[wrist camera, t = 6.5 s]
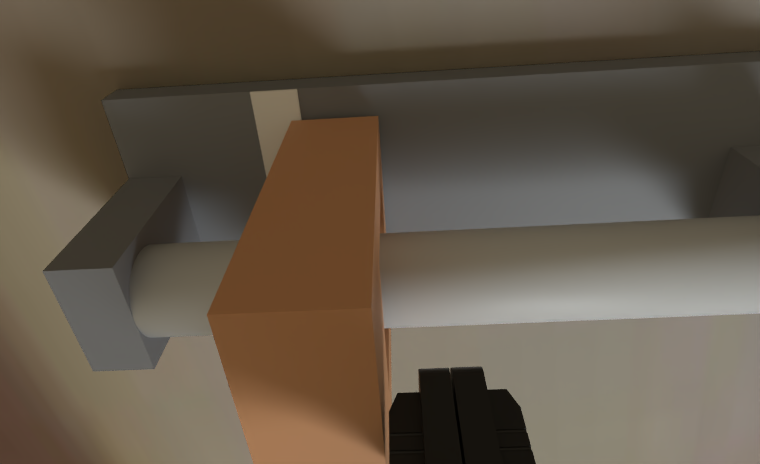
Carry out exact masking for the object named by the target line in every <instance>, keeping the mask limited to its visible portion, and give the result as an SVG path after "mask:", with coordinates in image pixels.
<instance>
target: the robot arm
mask: <svg viewBox="0 0 760 464" xmlns="http://www.w3.org/2000/svg"><path fill="white" fill-rule="evenodd" d="M389 464H536V463H535V459H534V456H533V452H532V451H531V445H530V441H529V437H528V433H527V432H526V426H525V422H524V419H523V415H522V411H521V407H520V406H519V405H518V403H517V402H516V401H515V400H514V398H513V397H512V396H511V394H510V393H509V392H508V391H507V389H497V390H487V386H486V381H485V377H484V372H483V369H482V367H455V368H451V369H450V371H449V368H432V369H419V392H414V393H397V395H396V398H395V400H394V402H393V404H392V406H391V408H390V410H389Z"/></svg>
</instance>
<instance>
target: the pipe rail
mask: <svg viewBox="0 0 760 464" xmlns="http://www.w3.org/2000/svg"><path fill="white" fill-rule="evenodd" d="M101 101H102V104H103V107H104V110H105V113H106V115H107V118H108V121H109V124H110V127H111V130H112V132H113V135H114V138H115V141H116V144H117V146H118V149H119V152H120V155H121V158H122V161H123V163H124V166H125V169H126V172H127V175H128V177H129V179H128V180H127V181H126V183H125V184H124V185H123V186H122V187H121V188H120V189H119V190H118V191H117V192H116V193H115V194H114V195H113V196H112V198H111V199H110V200H109V201H108V202H107V203H106V204H105V205H104V206H103V207H102V208H101V209H100V210H99V211H98V213H97V214H96V215H95V216H94V217H93V218H92V219H91V220H90V221H89V222H88V223H87V224H86V225H85V226H84V227H83V229H82V230H81V231H80V232H79V233H78V234H77V235H76V236H75V237H74V238H73V239H72V240H71V241H70V242H69V244H68V245H67V246H66V247H65V248H64V249H63V250H62V251H61V252H60V253H59V254H58V255H57V256H56V257H55V259H54V260H53V261H52V262H51V263H50V264H49V265H48V266H47V267H46V268H45V269H44V270H43V273H44V275H45V277H46V279H47V281H48V283H49V285H50V287H51V289H52V291H53V293H54V295H55V297H56V299H57V301H58V303H59V305H60V307H61V309H62V311H63V312H64V314H65V316H66V318H67V320H68V322H69V324H70V326H71V328H72V330H73V332H74V334H75V336H76V338H77V340H78V342H79V344H80V346H81V348H82V350H83V352H84V354H85V356H86V358H87V360H88V362H89V364H90V366H91V368H92V370H93V371H114V370H141V369H155V367H156V365H157V363H158V361H159V358H160V356H161V354H162V352H163V350H164V348H165V346H166V344H167V342H168V340H169V338H170V337H181V336H206V335H213V333H212V330H211V327H210V324H209V321H208V317H207V313H208V311H209V309H210V306H211V304H212V302H213V299H214V297H215V295H216V292H217V290H218V288H219V286H220V283H221V281H222V279H223V276H224V274H225V272H226V270H227V267H228V265H229V263H230V260H231V258H232V256H233V253H234V251H235V249H236V247H237V244H238V242H239V240H240V237H241V235H242V233H243V231H244V228H245V226H246V224H247V221H248V219H249V217H250V215H251V212H252V210H253V208H254V205H255V203H256V201H257V198H258V196H259V194H260V192H261V189H262V187H263V185H264V182H265V180H266V178H267V176H268V173H269V171H270V169H271V166H272V164H273V162H274V159H275V157H276V155H277V153H278V150H279V148H280V146H281V143H282V141H283V139H284V137H285V134H286V132H287V130H288V127H289V125H290V123H291V121H296V120H314V119H331V118H349V117H367V116H378V119H379V134H380V149H381V164H382V179H383V194H384V209H385V224H386V233H380V246H379V267H380V280H381V293H382V306H383V319H384V328H407V327H432V326H458V325H483V324H508V323H533V322H558V321H583V320H608V319H633V318H658V317H684V316H709V315H734V314H759V313H760V51H756V52H739V53H722V54H706V55H689V56H672V57H656V58H639V59H623V60H606V61H589V62H573V63H556V64H539V65H523V66H506V67H490V68H473V69H456V70H440V71H423V72H406V73H390V74H373V75H357V76H340V77H323V78H307V79H290V80H273V81H257V82H240V83H223V84H207V85H190V86H174V87H157V88H140V89H124V90H116V91H114V92H113V93H111V94H110V95H108V96H107V97H106V98H104V99H103V100H101Z"/></svg>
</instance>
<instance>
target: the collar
mask: <svg viewBox="0 0 760 464" xmlns="http://www.w3.org/2000/svg"><path fill="white" fill-rule="evenodd" d="M380 233H386V224H385V209H384V194H383V179H382V164H381V149H380V134H379V119H378V116H367V117H349V118H331V119H314V120H296V121H291V123H290V125H289V127H288V130H287V132H286V134H285V137H284V139H283V141H282V143H281V146H280V148H279V150H278V153H277V155H276V157H275V159H274V162H273V164H272V166H271V169H270V171H269V173H268V176H267V178H266V180H265V182H264V185H263V187H262V189H261V192H260V194H259V196H258V198H257V201H256V203H255V205H254V208H253V210H252V212H251V215H250V217H249V219H248V221H247V224H246V226H245V228H244V231H243V233H242V235H241V237H240V240H239V242H238V244H237V247H236V249H235V251H234V253H233V256H232V258H231V260H230V263H229V265H228V267H227V270H226V272H225V274H224V276H223V279H222V281H221V283H220V286H219V288H218V290H217V292H216V295H215V297H214V299H213V302H212V304H211V306H210V309H209V311H208V313H207V317H208V321H209V324H210V327H211V330H212V333H213V336H214V340H215V343H216V346H217V349H218V352H219V355H220V359H221V362H222V365H223V368H224V371H225V374H226V378H227V381H228V384H229V387H230V390H231V393H232V397H233V400H234V403H235V406H236V409H237V412H238V416H239V419H240V422H241V425H242V428H243V431H244V435H245V438H246V441H247V444H248V447H249V450H250V454H251V457H252V460H253V463H254V464H389V410H390V408H391V406H392V399H391V328H384V319H383V306H382V293H381V280H380V267H379V246H380Z"/></svg>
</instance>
